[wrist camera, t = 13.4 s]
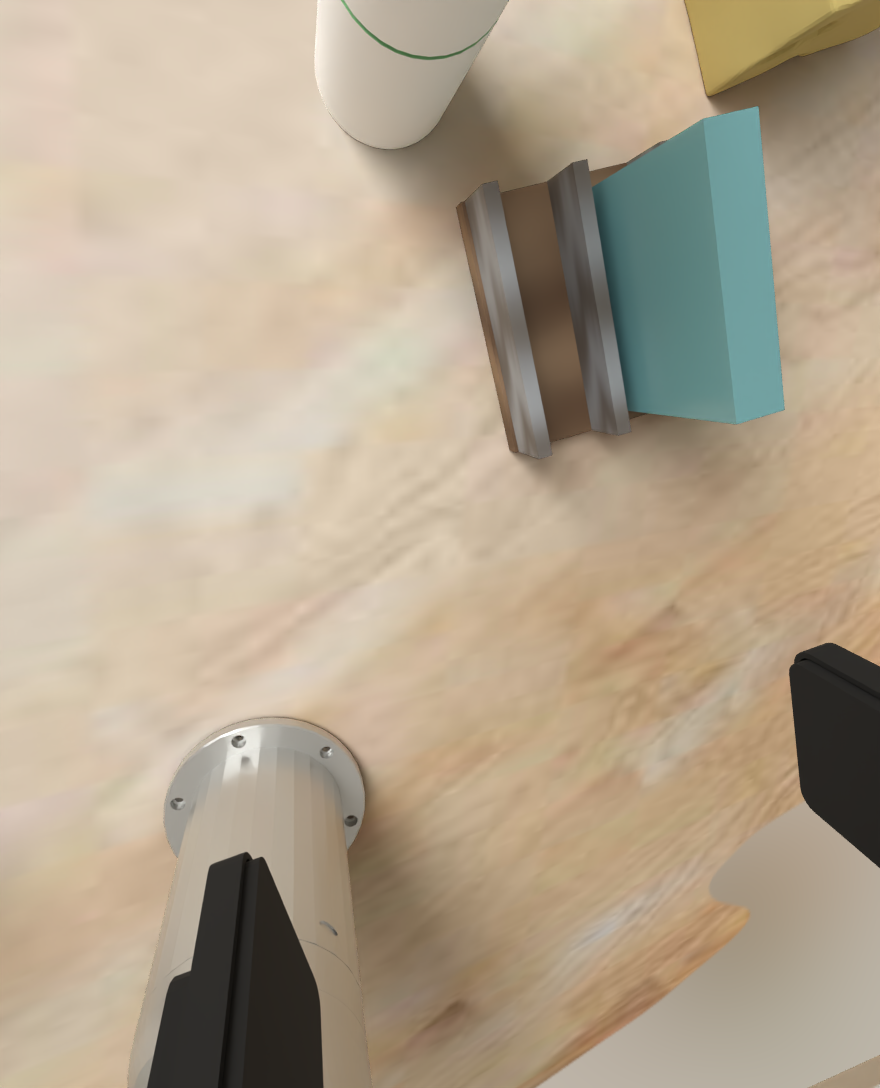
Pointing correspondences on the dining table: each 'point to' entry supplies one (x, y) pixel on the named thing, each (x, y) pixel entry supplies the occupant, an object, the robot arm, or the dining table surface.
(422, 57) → the cylindrical container
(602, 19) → the dining table surface
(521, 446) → the rack
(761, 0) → the cheese
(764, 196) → the teal slab
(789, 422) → the dining table surface
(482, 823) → the dining table surface
